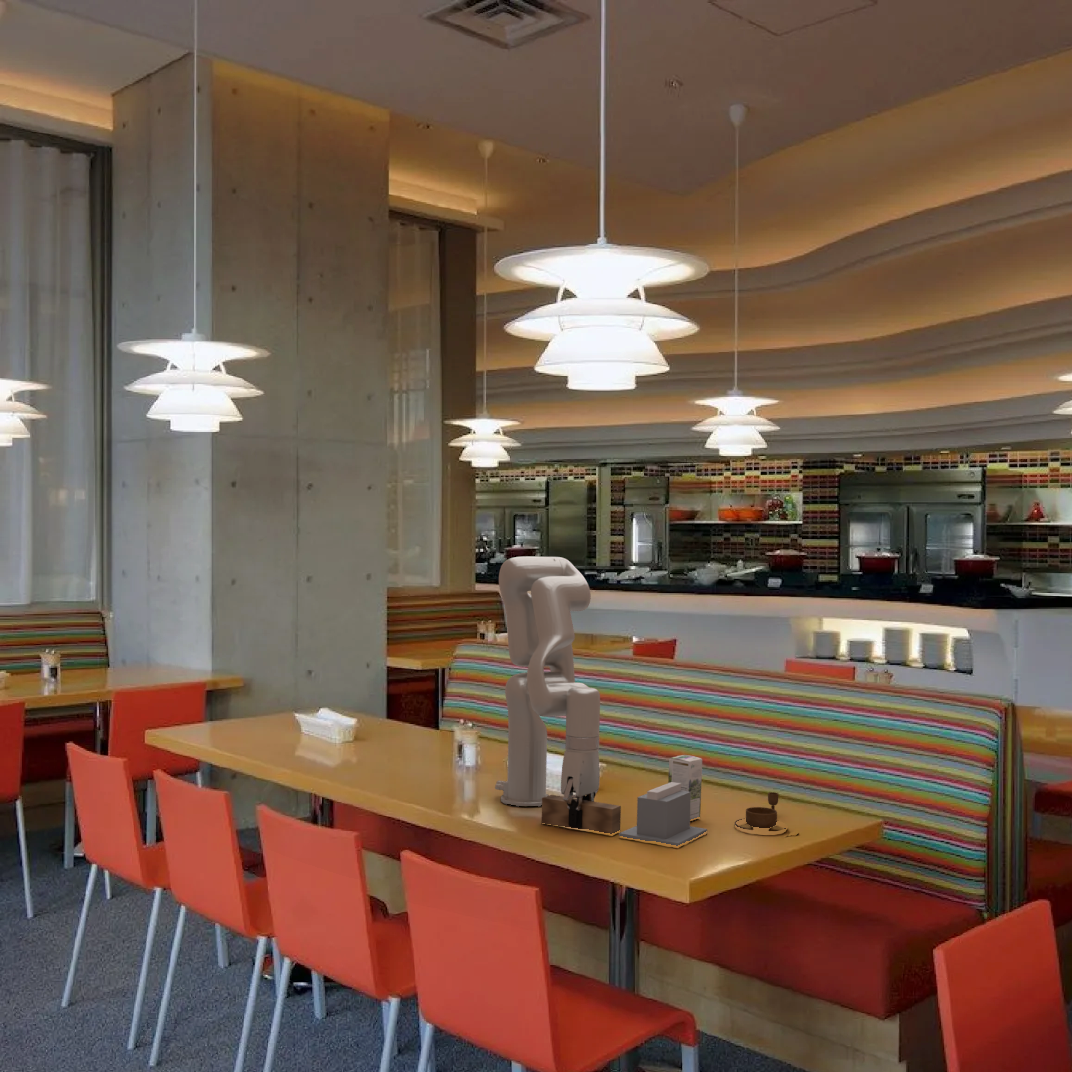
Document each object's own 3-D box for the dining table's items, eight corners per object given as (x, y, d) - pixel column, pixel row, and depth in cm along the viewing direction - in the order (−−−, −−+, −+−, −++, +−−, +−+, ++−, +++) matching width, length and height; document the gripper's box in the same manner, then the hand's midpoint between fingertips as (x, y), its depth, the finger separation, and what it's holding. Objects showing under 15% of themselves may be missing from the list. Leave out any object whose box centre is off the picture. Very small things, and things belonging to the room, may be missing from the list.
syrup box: (679, 815, 279) (681, 753, 279) (701, 819, 275) (702, 757, 275) (666, 819, 274) (667, 757, 274) (688, 824, 271) (689, 760, 270)
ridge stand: (619, 838, 256) (620, 788, 256) (650, 825, 269) (651, 777, 269) (677, 849, 249) (678, 797, 249) (707, 834, 261) (708, 785, 261)
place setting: (713, 827, 270) (713, 801, 270) (770, 815, 283) (770, 791, 283) (773, 843, 257) (774, 816, 257) (830, 830, 269) (831, 804, 269)
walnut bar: (541, 824, 267) (542, 797, 267) (550, 820, 270) (551, 794, 270) (611, 836, 257) (612, 809, 257) (620, 833, 261) (620, 805, 261)
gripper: (586, 736, 273) (584, 815, 273) (548, 746, 259) (546, 830, 259) (615, 740, 269) (613, 820, 269) (577, 750, 255) (576, 835, 255)
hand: (580, 824), depth 264 cm, fingers closed on walnut bar, 4 cm apart
